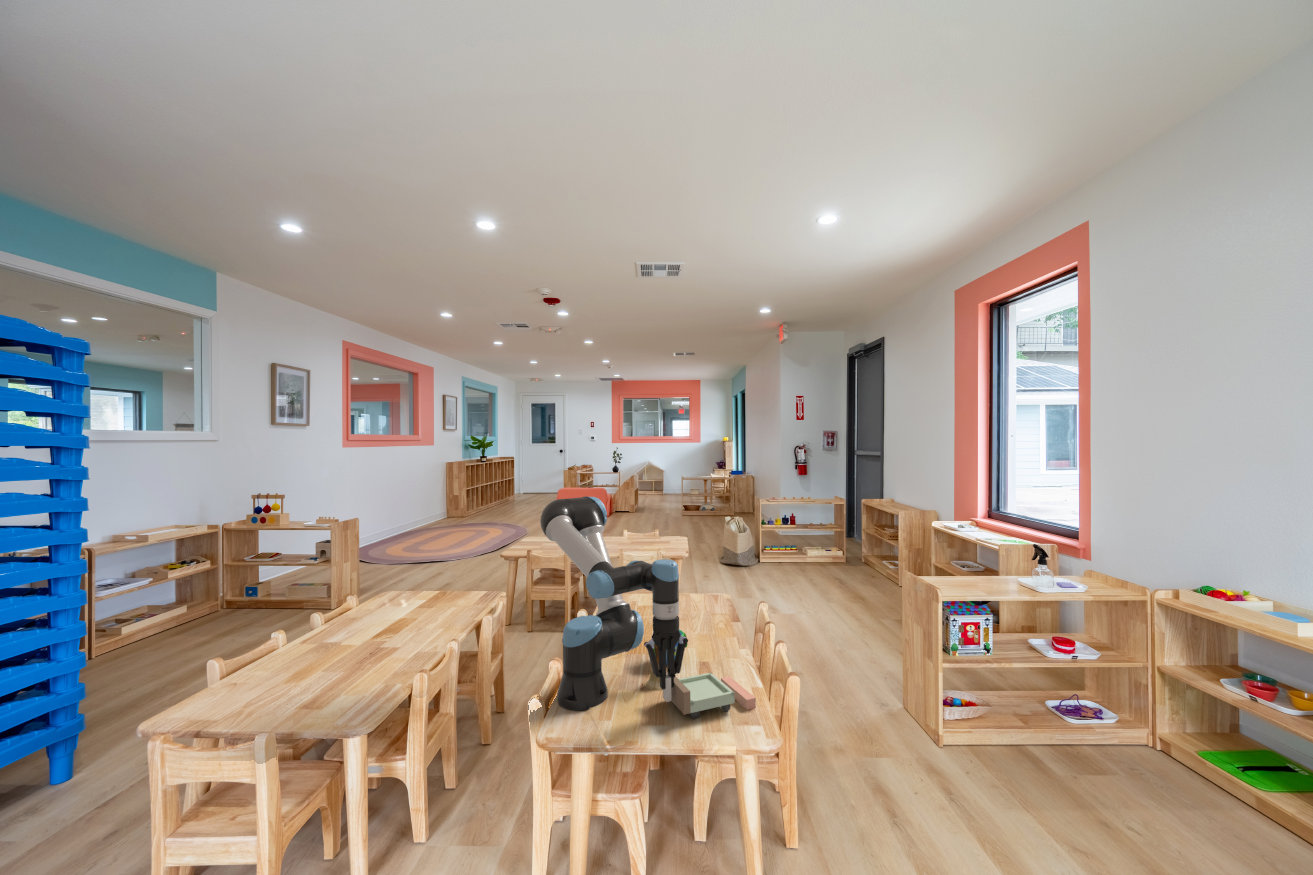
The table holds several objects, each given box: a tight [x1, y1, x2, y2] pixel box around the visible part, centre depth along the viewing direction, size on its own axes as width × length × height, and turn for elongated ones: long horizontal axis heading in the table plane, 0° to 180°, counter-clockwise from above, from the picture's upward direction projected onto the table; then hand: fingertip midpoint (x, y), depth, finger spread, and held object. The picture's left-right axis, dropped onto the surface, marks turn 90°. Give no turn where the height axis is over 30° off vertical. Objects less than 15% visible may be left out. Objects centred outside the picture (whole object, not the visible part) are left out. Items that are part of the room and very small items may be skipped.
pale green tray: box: [666, 670, 736, 720], centre depth 151 cm, size 16×14×8 cm
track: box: [720, 675, 757, 711], centre depth 151 cm, size 30×15×3 cm, turn 112°
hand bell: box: [645, 643, 663, 691], centre depth 164 cm, size 8×8×16 cm
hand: (667, 699), depth 147 cm, fingers closed
